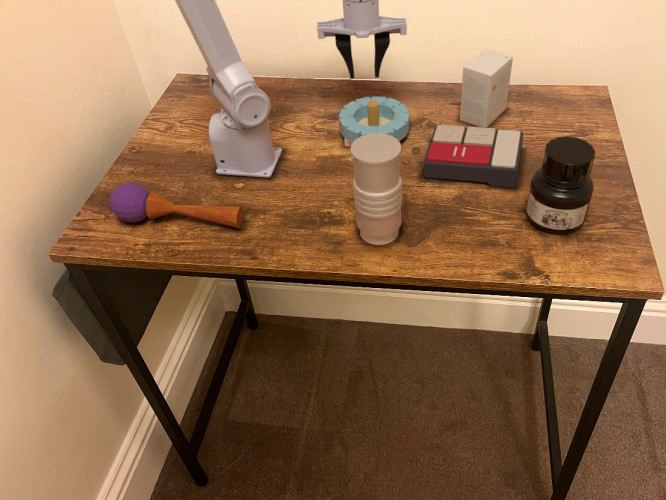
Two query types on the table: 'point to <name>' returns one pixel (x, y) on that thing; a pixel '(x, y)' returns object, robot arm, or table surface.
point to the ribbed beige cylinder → (377, 187)
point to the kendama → (166, 207)
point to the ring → (386, 109)
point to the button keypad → (474, 155)
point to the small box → (485, 88)
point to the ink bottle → (562, 186)
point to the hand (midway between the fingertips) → (364, 75)
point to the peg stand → (371, 118)
